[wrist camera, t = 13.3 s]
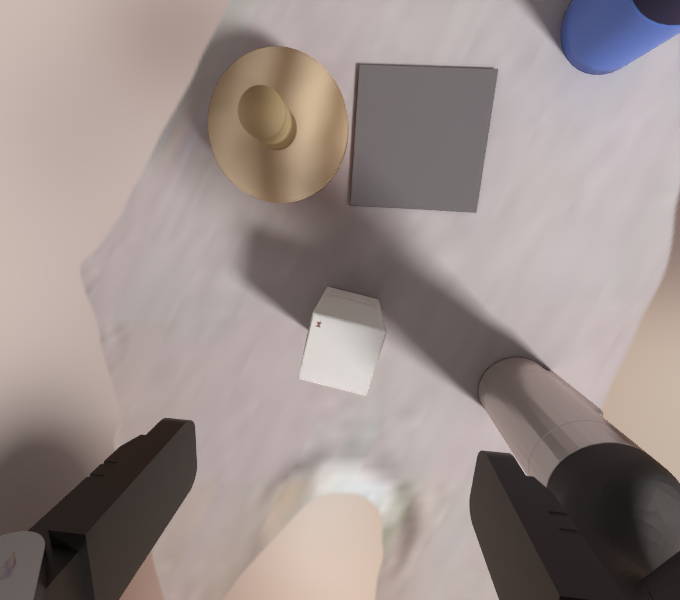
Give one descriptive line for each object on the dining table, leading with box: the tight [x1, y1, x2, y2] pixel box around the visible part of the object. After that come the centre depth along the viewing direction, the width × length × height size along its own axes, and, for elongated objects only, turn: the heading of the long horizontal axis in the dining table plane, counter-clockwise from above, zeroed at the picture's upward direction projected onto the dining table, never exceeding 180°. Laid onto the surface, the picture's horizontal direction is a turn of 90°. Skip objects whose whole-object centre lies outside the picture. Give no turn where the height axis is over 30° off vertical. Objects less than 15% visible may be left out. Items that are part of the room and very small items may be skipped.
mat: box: [350, 65, 498, 213], centre depth 38 cm, size 15×15×1 cm
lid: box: [208, 46, 348, 203], centre depth 30 cm, size 14×14×6 cm
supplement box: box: [299, 286, 387, 396], centre depth 38 cm, size 7×7×13 cm
